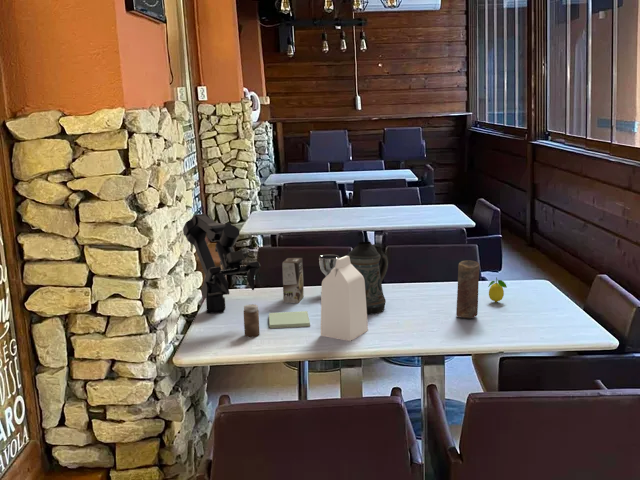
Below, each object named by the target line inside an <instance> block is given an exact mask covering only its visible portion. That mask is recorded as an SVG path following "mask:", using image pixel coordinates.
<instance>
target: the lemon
mask: <svg viewBox="0 0 640 480" xmlns="http://www.w3.org/2000/svg"><path fill="white" fill-rule="evenodd" d="M495 278H496V279H495V280H491V281H490V282H489V284H488V288H489V289H488V297H489V299H490V300H491V301H493V302H494V303H498V302H499V301H501V300H503V298H504V295H505V291H504V289H505V288H508V287H507V284H506V283H505V281H503V280H502V279H498V277H495Z"/></svg>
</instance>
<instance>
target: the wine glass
mask: <svg viewBox="0 0 640 480" xmlns="http://www.w3.org/2000/svg"><path fill="white" fill-rule="evenodd" d="M339 258H340V256H339V255H337V254H322V255H319V257H318V260H319V262H318V263H319V267H320V271H321V273H323V274H324V276H325V277H326V276H327V275H328V274H329V273H330V272H331V270H332V269H333V268H334V267H335V265H336V261H337V259H339Z"/></svg>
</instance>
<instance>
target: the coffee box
mask: <svg viewBox="0 0 640 480" xmlns="http://www.w3.org/2000/svg"><path fill="white" fill-rule="evenodd" d="M281 264H282V268H281V269H282V292H283V293H282V298H283V299H282V301H283V303H284V304H285V303H286V304H289V303H290V304H291V303H292V304H299V303H300V302H301V301H302V300H303V298H304V297H305V295H304V292H305V291H304V268H303V267H304V266H303V257H287V258H286V259H285V260H284V261H282V263H281Z"/></svg>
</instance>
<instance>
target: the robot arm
mask: <svg viewBox="0 0 640 480" xmlns="http://www.w3.org/2000/svg"><path fill="white" fill-rule="evenodd" d="M182 231H183V235H184V237H185V238H186V240H187V242H188V243H190V244H191V245H192V246H194V249H195V252H196V254H197V256H198V260H199V262H200V264H201V265H200V266H201V268H202V270H203V273H204V275H205V276H204V278H203V279H204V280H203V285H202V287H201V290H200V293H201V296H202V297H204V298H205V301H206V305H205V306H206V313H205V314H219V313H220V314H221V313H224V312H225V310H226V297H224V296H225V295H226V296H229V295H230V289H229V282H228V279H227V277H226V276H227V275H234V274H241V273H245V276H246V280H247V283H248V284H249V286H250V289H251V291H254V290H255V276H257V275H258V273H259V271H260V269H261V267H262V266H261V264H260V262H259V261H258V260H253V261H252V260H251V261H248V262H247V263H246V265H245V266H241V265H243V261H245V259H247V258H248V257H249V252H248V249H247V248H241V249H240V250H236V251H235V248H234V246H235V245H236V243H237V241H238V238H239V236H240V232H241V231H240V229H239V228H238V227H237V226H235V225H233V224H232V222H227V223H226V222H225V223H223V222H222V223H218V222H216V221H215V220H213V219H211V218H210V217H209V216H208V215H207V213H206V214H205V213H198V214H193V215H192V217H191V218H189V220H187V221H186V222H185V224H184V225H183V229H182ZM206 235H207V236H206ZM206 237H207V238H208V240H209V241H210V242H216V243H215V246H214V247H215V248H214V251H215V253H217V255H218V257H219V259H220V261H219V265H220V266H216V264H215V261H214V258H213V255H212V253H211V251H210V248H209V245H208V243H207V240H206ZM221 265H222V268H223V269H222V268H221Z"/></svg>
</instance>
